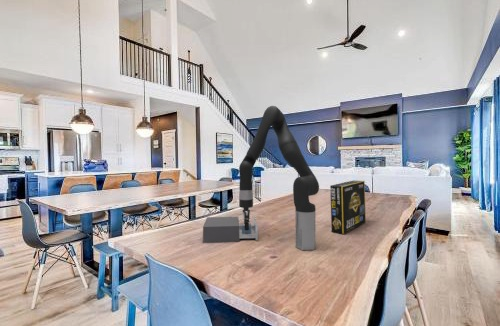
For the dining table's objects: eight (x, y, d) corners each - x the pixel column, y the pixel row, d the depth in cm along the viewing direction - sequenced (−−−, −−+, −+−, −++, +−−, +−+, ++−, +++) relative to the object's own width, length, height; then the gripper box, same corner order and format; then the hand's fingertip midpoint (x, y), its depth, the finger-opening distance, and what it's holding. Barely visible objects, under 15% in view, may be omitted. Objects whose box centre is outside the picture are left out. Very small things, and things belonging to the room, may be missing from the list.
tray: (255, 229, 150) (254, 216, 149) (258, 240, 130) (258, 225, 129) (224, 230, 148) (223, 217, 148) (222, 241, 128) (222, 226, 128)
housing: (238, 230, 149) (238, 216, 149) (239, 241, 129) (239, 225, 129) (207, 231, 148) (207, 217, 148) (203, 242, 128) (203, 226, 128)
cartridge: (251, 232, 137) (251, 225, 137) (242, 233, 137) (241, 225, 137) (250, 230, 141) (250, 223, 141) (241, 230, 141) (241, 223, 141)
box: (344, 235, 138) (344, 185, 137) (329, 232, 144) (329, 184, 143) (366, 223, 163) (366, 181, 162) (353, 220, 168) (353, 180, 167)
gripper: (254, 200, 132) (254, 231, 132) (252, 195, 146) (252, 224, 146) (239, 200, 131) (239, 232, 132) (238, 196, 146) (239, 224, 146)
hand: (246, 227), depth 139 cm, fingers open, 8 cm apart
